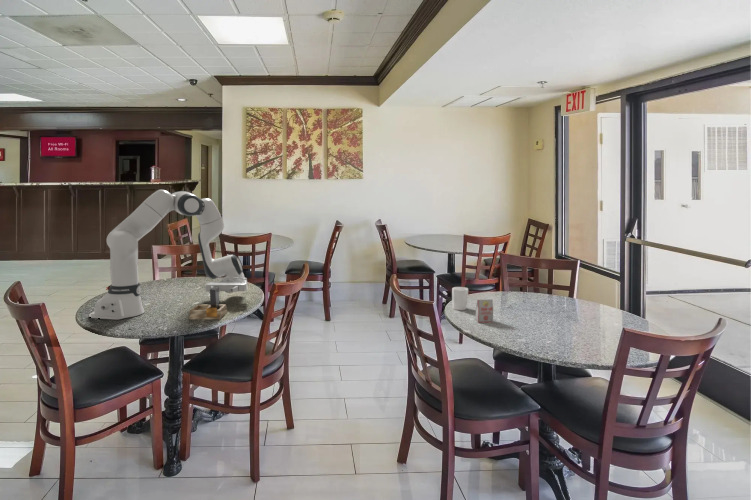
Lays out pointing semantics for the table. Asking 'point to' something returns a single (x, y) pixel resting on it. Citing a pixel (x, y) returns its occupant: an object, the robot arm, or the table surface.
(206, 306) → the wooden divided box
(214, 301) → the block
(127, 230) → the robot arm
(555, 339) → the table surface
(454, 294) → the white cup
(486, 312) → the red and white carton
